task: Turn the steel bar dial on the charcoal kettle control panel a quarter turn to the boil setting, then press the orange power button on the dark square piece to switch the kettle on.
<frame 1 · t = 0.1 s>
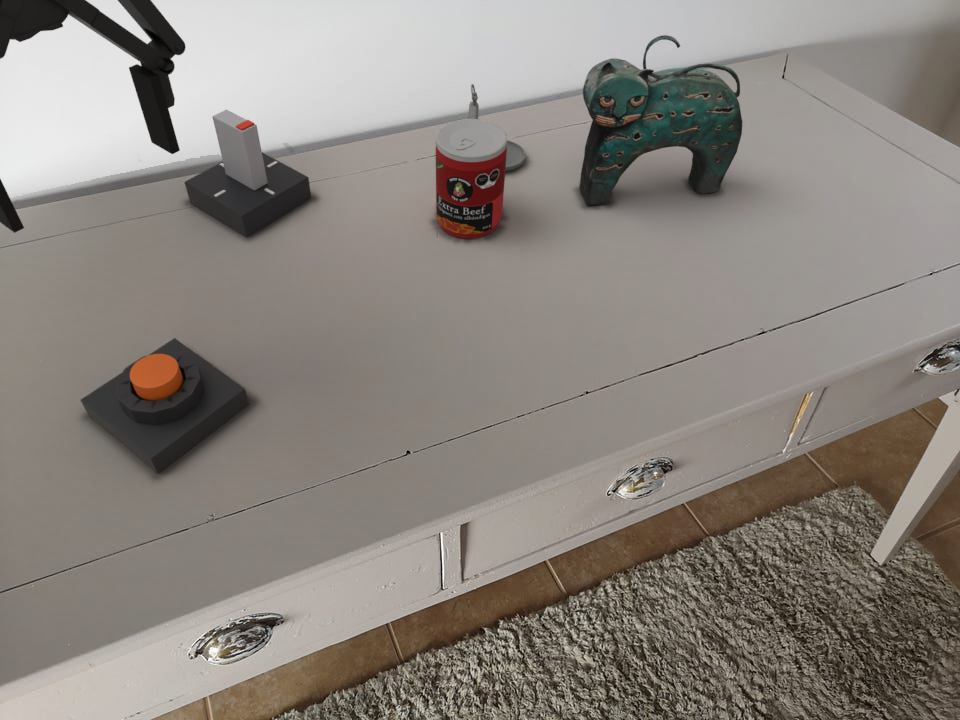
hand: (92, 182, 60), 20 cm above the table, tool pointing down, fingers open, 13 cm apart
dial: (240, 149, 87), point 7 cm above the table, hinge at 0.0°
dial panel: (251, 200, 93), on the table
pocket watch: (490, 159, 101), on the table
ceramic cat: (644, 192, 97), on the table
dark square piece: (169, 409, 71), on the table
canned food: (468, 221, 92), on the table
power button: (156, 377, 67), point 4 cm above the table, slide at 0.1 cm
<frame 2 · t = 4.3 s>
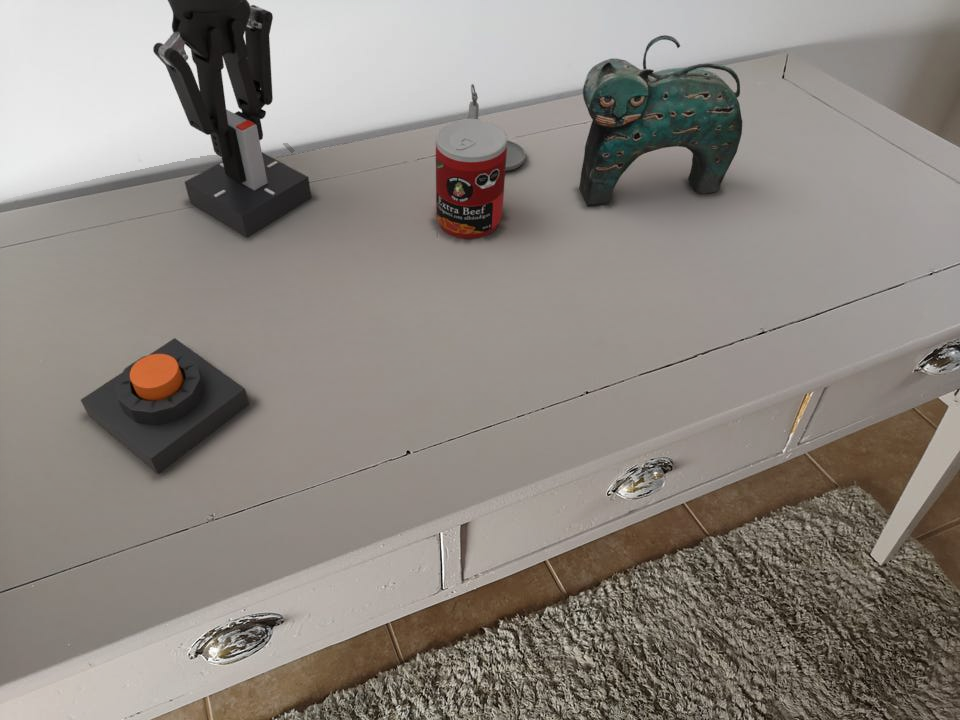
hand: (245, 172, 90), 4 cm above the table, tool pointing down, fingers closed on dial, 2 cm apart
dial: (240, 149, 87), point 7 cm above the table, hinge at 0.0°, touching gripper
everything else where it was.
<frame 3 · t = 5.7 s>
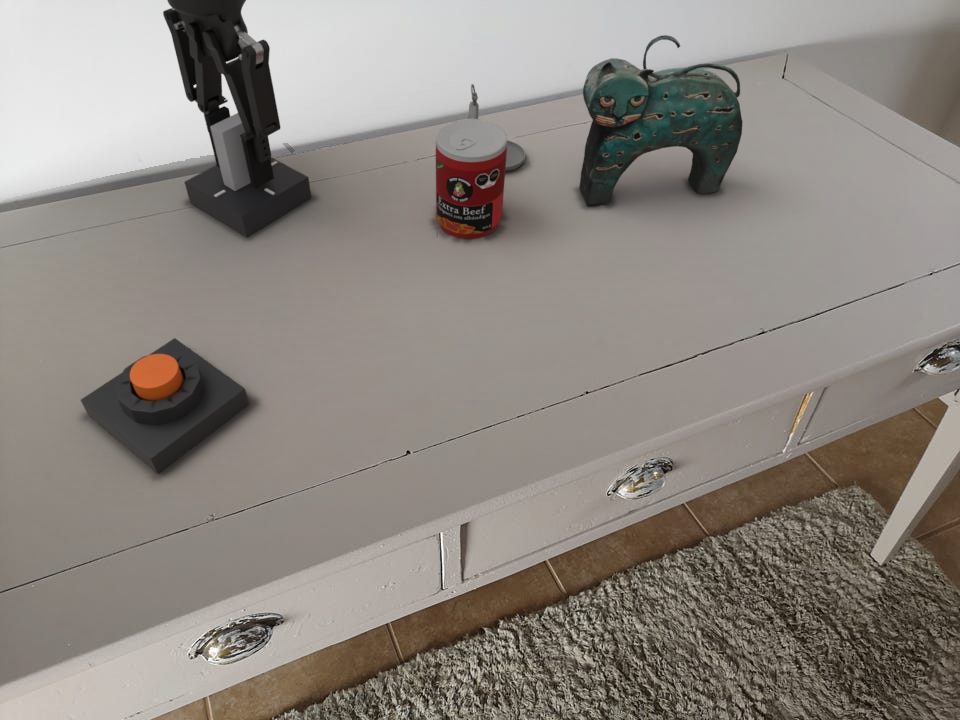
hand: (245, 171, 90), 4 cm above the table, tool pointing down, fingers open, 5 cm apart
dial: (240, 149, 87), point 7 cm above the table, hinge at 89.6°
everything else where it was.
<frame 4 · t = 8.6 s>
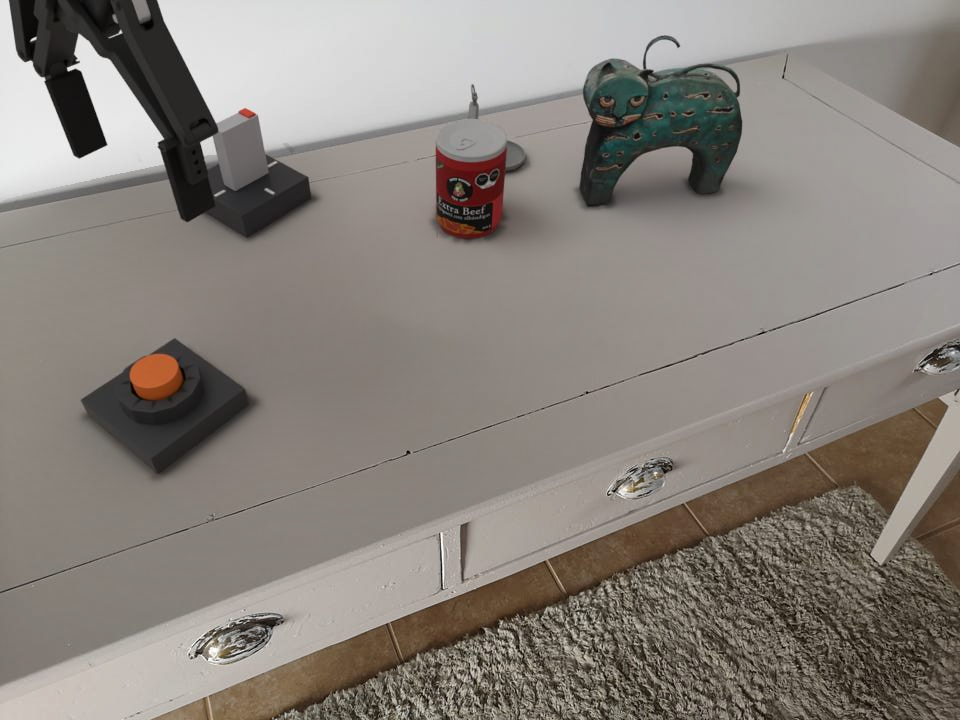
hand: (142, 180, 62), 19 cm above the table, tool pointing down, fingers open, 13 cm apart
nothing on the table moved.
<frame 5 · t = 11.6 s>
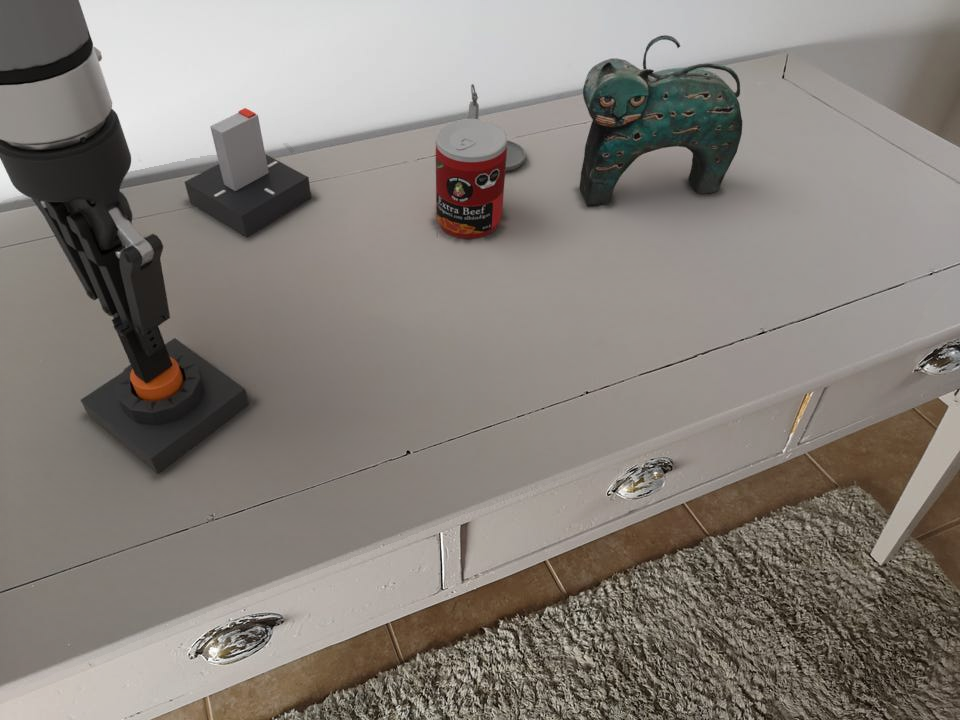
hand: (154, 370, 67), 5 cm above the table, tool pointing down, fingers closed
power button: (157, 378, 67), point 4 cm above the table, slide at 0.0 cm, touching gripper
everything else where it was.
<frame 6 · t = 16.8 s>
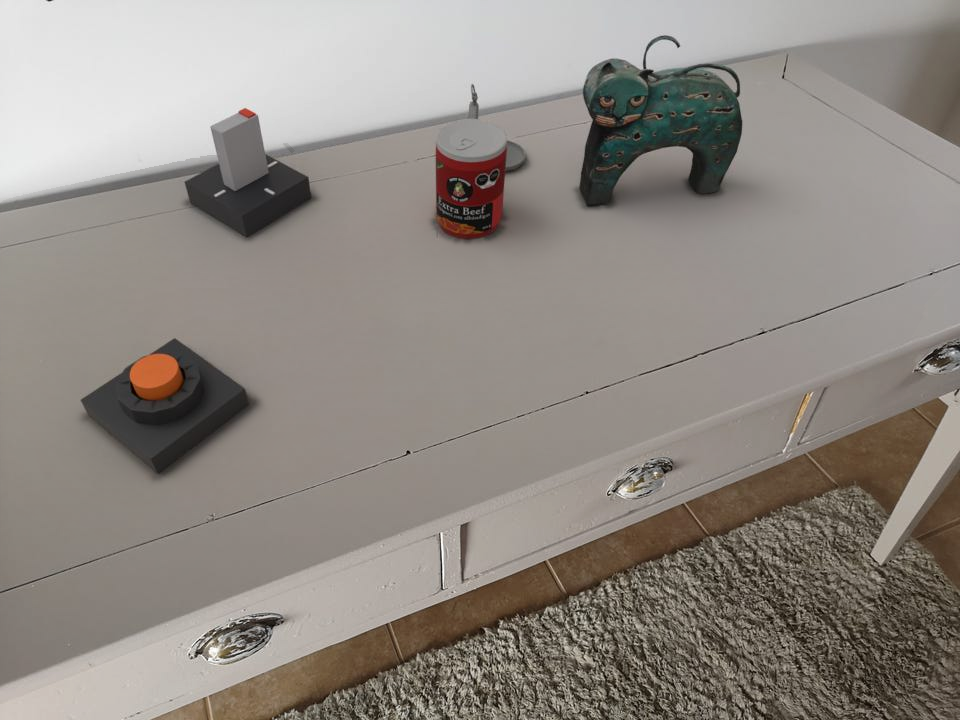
power button: (156, 377, 67), point 4 cm above the table, slide at 0.1 cm
everything else where it was.
at the end: dial at +90° (first picture: +0°); power button pushed in 1.0 cm at the most during the clip, back to where it started at the end; power button slide at 0.1 cm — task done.
